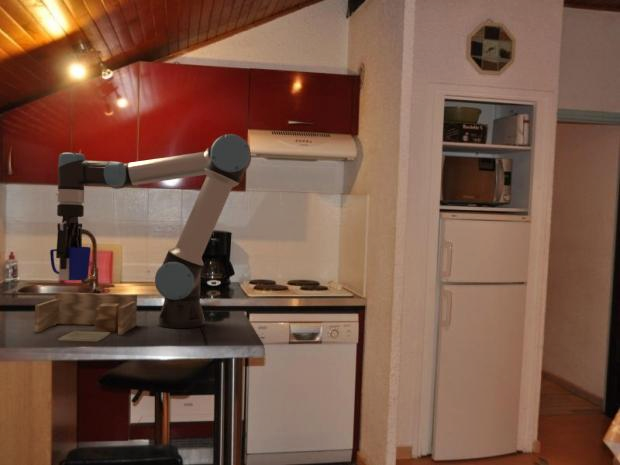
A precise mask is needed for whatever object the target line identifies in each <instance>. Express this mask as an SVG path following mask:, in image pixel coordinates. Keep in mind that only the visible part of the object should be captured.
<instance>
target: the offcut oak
mask: <svg viewBox="0 0 620 465" xmlns="http://www.w3.org/2000/svg"><path fill="white" fill-rule="evenodd" d="M118 314H119V304H106V303H103V304H102V305H100V306H99V319H117V318H118Z"/></svg>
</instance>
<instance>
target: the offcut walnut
mask: <svg viewBox="0 0 620 465" xmlns="http://www.w3.org/2000/svg"><path fill="white" fill-rule="evenodd" d="M94 332H110V333H116V332H118V318H117V319H99V318H97V319H95V325H94Z"/></svg>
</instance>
